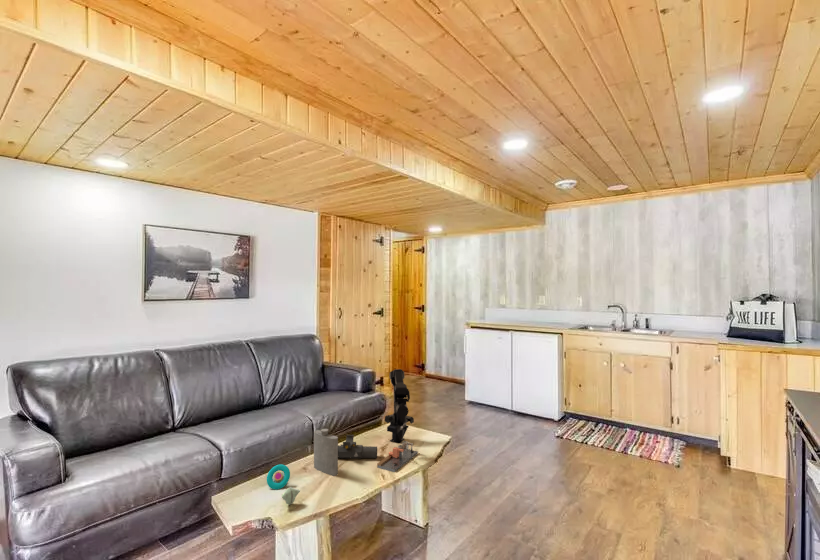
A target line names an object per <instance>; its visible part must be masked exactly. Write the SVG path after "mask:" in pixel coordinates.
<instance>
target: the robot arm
mask: <svg viewBox="0 0 820 560" xmlns="http://www.w3.org/2000/svg"><path fill="white" fill-rule="evenodd" d="M404 379H405V371H404V370H403V369H399V368H398V369H397V368H396V369H394V370H391V371H390V372H389V380H390V383H391V385H392V387H393V413H392V414H388V415H385V416H384V422H385V423H387V424H389V425H388V426H387V427H386V432H388V433H389V432H390V433H391V439H389V442H392V443H396V444H401V443H402V442H404V441H406V440H405V438H404V437H405V434H406V432H407V431H408V429H409V425H407V423H408V422H409V423H410V424H413V423H414V422H415V418H414V417H413V416H411V415H409V408H408V405H407V403H410V400H411V394H410V390H409V388H408V387H407V384H406V383H404Z"/></svg>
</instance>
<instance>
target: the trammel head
mask: <svg viewBox="0 0 820 560" xmlns="http://www.w3.org/2000/svg"><path fill="white" fill-rule="evenodd" d="M399 451H401V452H402V458H403V451H404V450H403V449H399V448H398V446H397V447H392V451H390V452H388V455H392V456H393V457H394V458H398V457H399Z"/></svg>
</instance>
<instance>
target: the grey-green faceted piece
mask: <svg viewBox="0 0 820 560" xmlns="http://www.w3.org/2000/svg"><path fill="white" fill-rule="evenodd" d="M300 493H301V490H300V489H298V488H293V487H291V486H289V487H288V488H286V490H285V491H284V493H283V494H281V499H282V500H284V501H285V503H286V504H287V505H289V506H291V505H292V504H293V503H294V502H295V501H296V498H297V496H298V495H299V494H300Z"/></svg>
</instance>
